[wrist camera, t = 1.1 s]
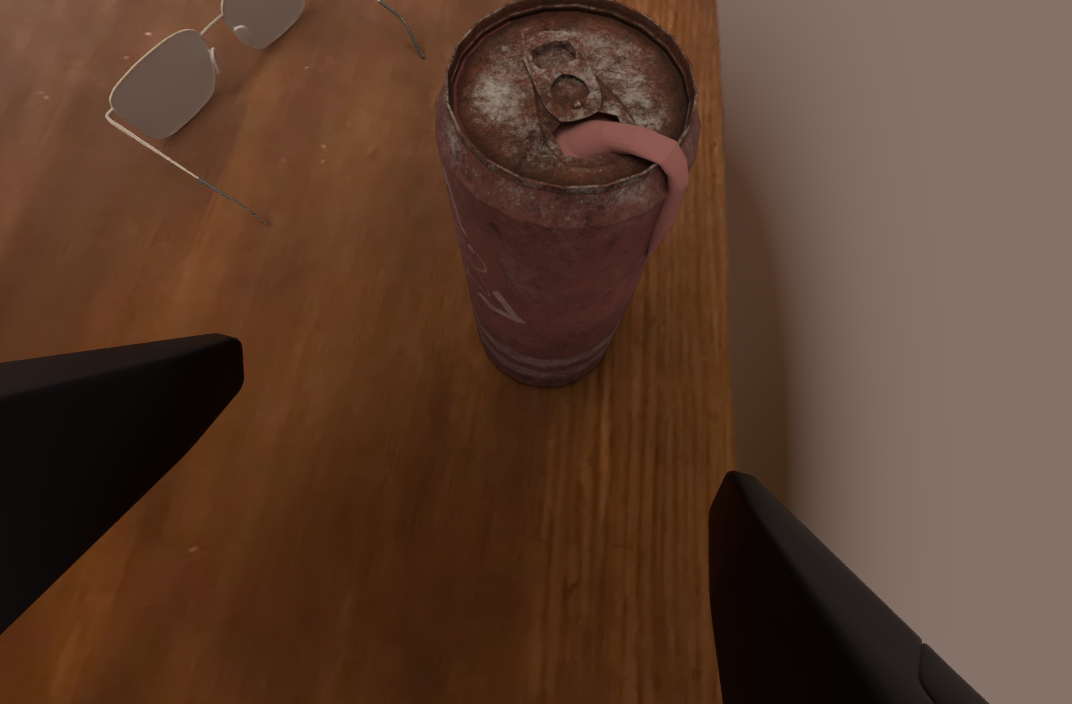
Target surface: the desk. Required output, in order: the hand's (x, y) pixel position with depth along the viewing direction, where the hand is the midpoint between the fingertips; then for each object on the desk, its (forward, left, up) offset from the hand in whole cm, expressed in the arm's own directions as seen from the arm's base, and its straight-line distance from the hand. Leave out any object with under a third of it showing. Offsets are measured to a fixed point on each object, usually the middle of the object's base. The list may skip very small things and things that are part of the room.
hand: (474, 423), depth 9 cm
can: (+7, -1, -13) cm, 15 cm away
